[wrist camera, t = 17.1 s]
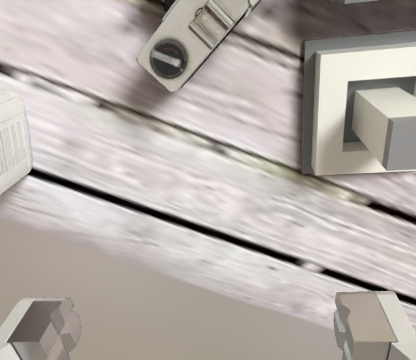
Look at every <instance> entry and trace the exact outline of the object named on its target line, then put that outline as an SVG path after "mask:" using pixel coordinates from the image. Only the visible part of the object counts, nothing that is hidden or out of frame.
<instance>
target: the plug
mask: <svg viewBox="0 0 416 360" xmlns="http://www.w3.org/2000/svg"><path fill="white" fill-rule="evenodd" d="M352 130H353V131H354V132H355V134H356V135H357V136H358V137H359V138H360V140H361V141H362V142H363V143H364V144H365V146H366V147H367V148H368V149H369V150H370V152H371V153H372V154H373V155H374V156H375V158H376V159H377V160H378V161H379V163H380V164H381V165H382V166H383V167H384V169H385V170H386V171H394V170H415V169H416V97H414V96H413V95H411V94H409V93H407V92H406V91H404V90H402V89H400V88H399V87H393V88H380V89H367V90H355V97H354V108H353V119H352Z"/></svg>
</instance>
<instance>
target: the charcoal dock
mask: <svg viewBox="0 0 416 360" xmlns="http://www.w3.org/2000/svg"><path fill="white" fill-rule="evenodd" d="M367 1H377V0H328V3H336V4H349V3H358V2H367Z"/></svg>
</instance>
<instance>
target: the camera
mask: <svg viewBox="0 0 416 360" xmlns="http://www.w3.org/2000/svg"><path fill="white" fill-rule="evenodd" d="M163 1H164V2H165V7H164V10H165V11H166V12H167V13H166V14H165V16H164V17H163V18H162V23H161V25H160V26H159V27H158V29H157V30H156V31H155V33H154V34H153V35H152V37H151V38H150V39H149V41H148V42H147V43H146V45H145V46H144V47H143V49H142V50H141V51H140V53H139V54H138V55H137V61H138V63H139V64H140V65H141V66H142V67H143V68H145V69H146V70H147V71H148V72H149V73H150V74H151V75H152V76H153V77H154V78H155V79H157V80H158V81H159V82H160V83H161V84H162V85H163V86H164V87H165V88H166V89H167V90H169V91H170V92H176V91H177V90H178V89H180V88H181V87H182V86H183V85H184V84H185V83H186V82H187V81H188V80H189V79H190V78H191V77H192V76H193V75H194V73H195V72H196V71H197V70H198V69H199V68H200V67H201V66H202V64H203V63H204V62H205V61H206V60H207V59H208V57H209V56H210V55H211V54H212V53H213V52H214V51H215V49H216V48H217V47H218V46H219V45H220V44H221V43H222V41H223V40H224V39H225V38H226V37H227V36H228V34H229V33H230V32H231V31H232V30H233V29H234V27H235V26H236V25H237V24H238V23H239V22H240V21H241V19H242V18H243V17H244V16H245V17H247V16H248V14H249V13H250V11H252V10H253V9H254V8H255V7H256V6H257V5H258V3H259V2H260V1H261V0H163Z"/></svg>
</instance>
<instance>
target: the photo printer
mask: <svg viewBox="0 0 416 360" xmlns="http://www.w3.org/2000/svg"><path fill="white" fill-rule="evenodd" d="M31 168H32V157H31V149H30V141H29V133H28V126H27V119H26V113H25V108H24V104H23V100H22V98H21V97H19V96H18V95H17V94H16V93H14V92H13V91H10V90H6V89H1V90H0V195H1V194H2V193H3V192H5V191H6V190H7V189H9V188H10V187H11V186H12V185H14V184H15V183H16V182H18V181H19V180H20V179H21V178H23V177H24V176H25V175H27V174H28V173H29V172H30V171H31Z"/></svg>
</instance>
